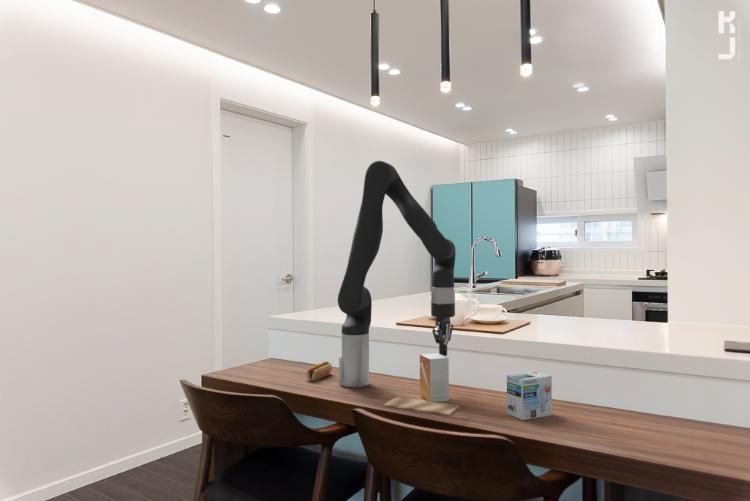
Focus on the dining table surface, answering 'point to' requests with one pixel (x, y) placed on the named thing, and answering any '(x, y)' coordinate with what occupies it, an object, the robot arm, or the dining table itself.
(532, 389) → the light bulb box
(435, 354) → the small box
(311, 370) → the food
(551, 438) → the dining table surface
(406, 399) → the wooden board
